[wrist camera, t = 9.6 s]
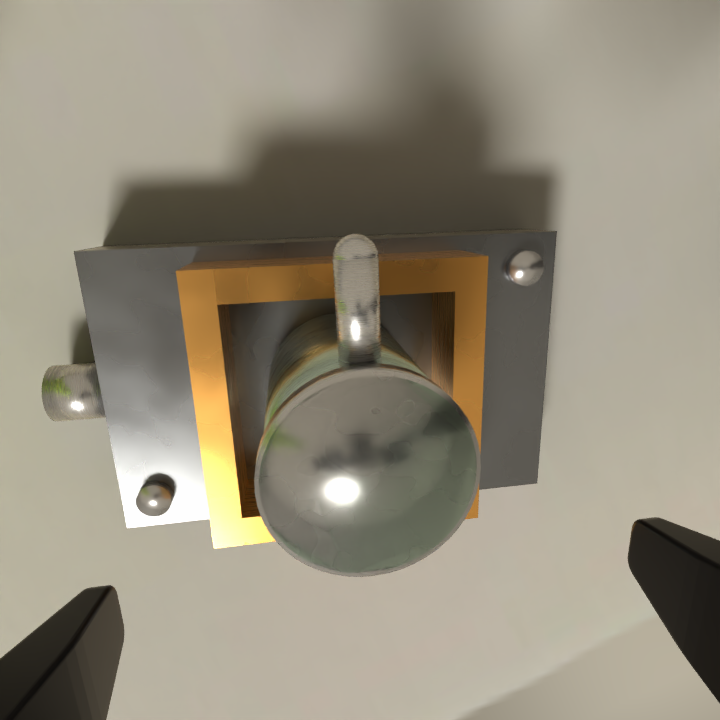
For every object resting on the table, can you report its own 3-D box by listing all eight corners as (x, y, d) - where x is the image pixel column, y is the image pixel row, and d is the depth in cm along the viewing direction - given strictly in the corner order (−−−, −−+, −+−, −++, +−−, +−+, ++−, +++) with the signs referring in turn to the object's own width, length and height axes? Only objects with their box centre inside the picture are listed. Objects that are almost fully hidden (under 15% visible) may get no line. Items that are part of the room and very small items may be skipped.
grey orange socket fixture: (524, 229, 20) (599, 234, 15) (510, 455, 23) (570, 518, 18) (42, 248, 18) (-48, 261, 13) (94, 497, 21) (36, 582, 16)
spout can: (407, 222, 17) (487, 229, 10) (410, 439, 19) (477, 561, 12) (250, 230, 16) (225, 242, 9) (272, 454, 18) (266, 590, 12)
